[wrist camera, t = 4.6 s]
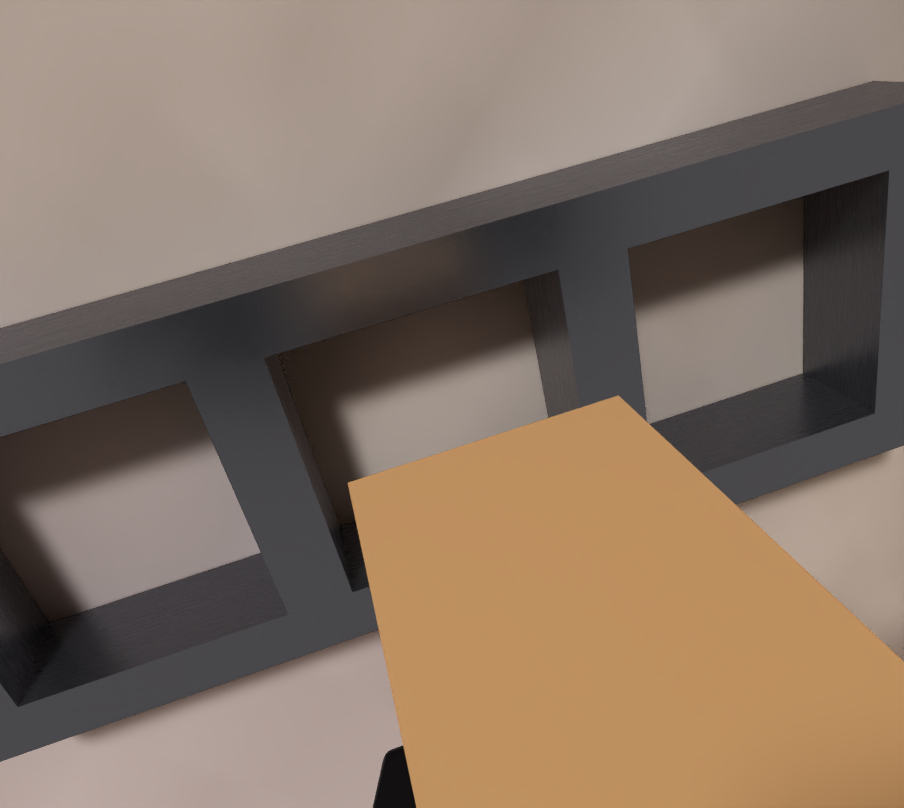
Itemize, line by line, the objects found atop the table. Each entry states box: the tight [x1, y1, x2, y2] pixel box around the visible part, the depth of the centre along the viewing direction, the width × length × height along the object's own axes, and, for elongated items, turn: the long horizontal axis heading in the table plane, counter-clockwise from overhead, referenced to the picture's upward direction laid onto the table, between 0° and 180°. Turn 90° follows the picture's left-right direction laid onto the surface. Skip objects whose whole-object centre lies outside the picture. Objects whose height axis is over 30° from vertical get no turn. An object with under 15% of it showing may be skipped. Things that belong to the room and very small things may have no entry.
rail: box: [0, 81, 904, 762], centre depth 16 cm, size 23×8×2 cm, turn 103°
